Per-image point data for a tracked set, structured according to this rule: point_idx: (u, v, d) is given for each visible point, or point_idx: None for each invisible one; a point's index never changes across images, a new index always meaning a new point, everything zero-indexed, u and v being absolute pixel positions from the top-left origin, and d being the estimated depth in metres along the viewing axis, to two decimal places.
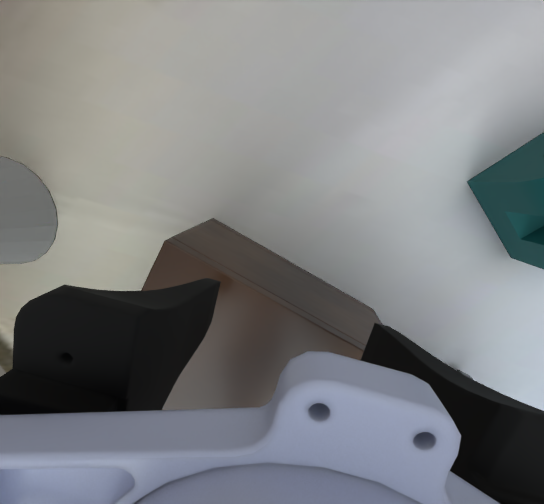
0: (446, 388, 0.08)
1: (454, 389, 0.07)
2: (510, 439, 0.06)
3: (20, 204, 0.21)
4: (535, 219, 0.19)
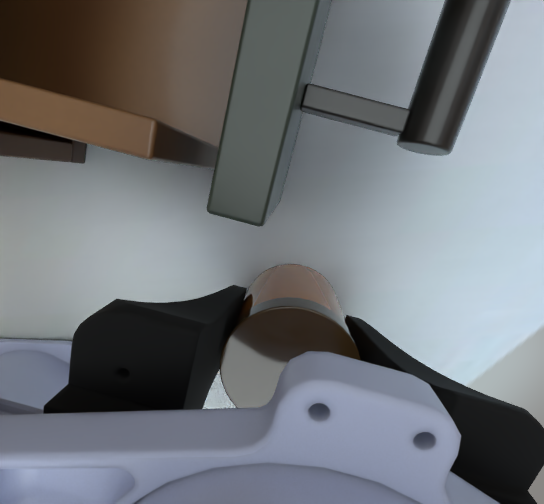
0: None
1: None
2: None
3: None
4: None
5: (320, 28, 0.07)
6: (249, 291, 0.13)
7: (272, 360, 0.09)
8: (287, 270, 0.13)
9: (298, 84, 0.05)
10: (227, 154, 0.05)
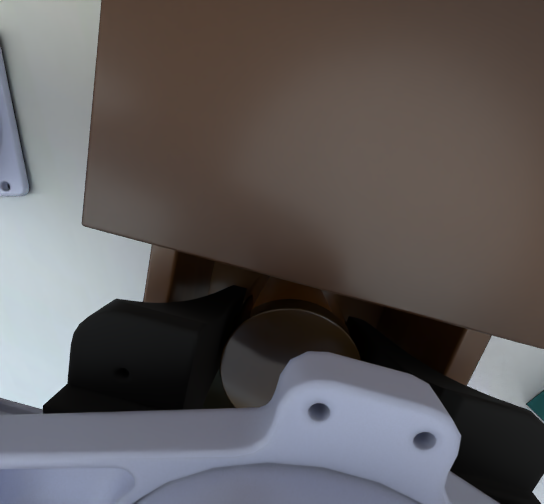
0: None
1: None
2: None
3: None
4: None
5: None
6: (249, 292, 0.13)
7: (272, 362, 0.09)
8: None
9: None
10: None
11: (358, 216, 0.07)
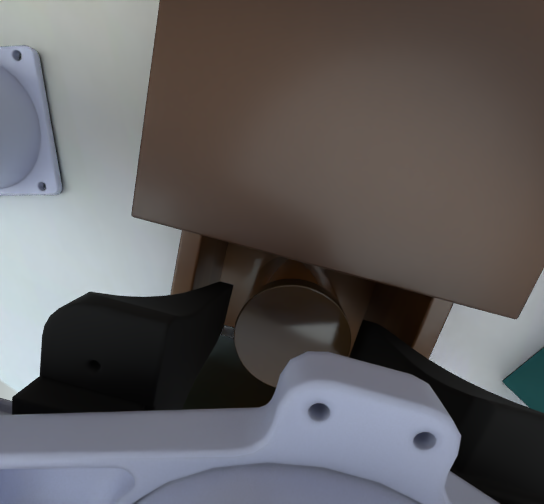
0: (426, 383, 0.08)
1: (433, 383, 0.07)
2: (483, 432, 0.06)
3: None
4: None
5: None
6: (256, 277, 0.15)
7: (277, 330, 0.11)
8: None
9: None
10: None
11: (343, 208, 0.09)
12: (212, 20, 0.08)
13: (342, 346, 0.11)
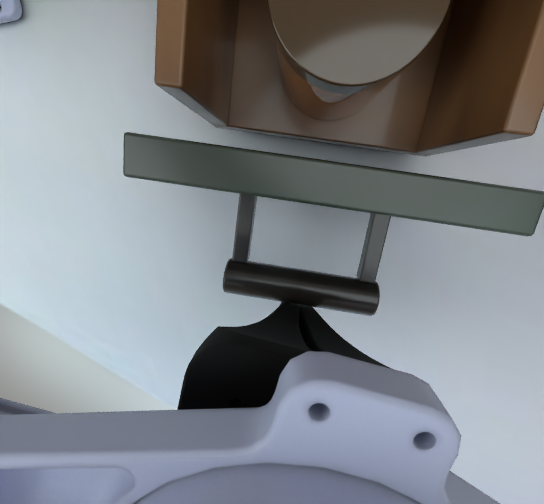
0: None
1: None
2: None
3: None
4: None
5: None
6: None
7: None
8: None
9: (214, 189, 0.08)
10: (164, 145, 0.08)
11: None
12: None
13: None
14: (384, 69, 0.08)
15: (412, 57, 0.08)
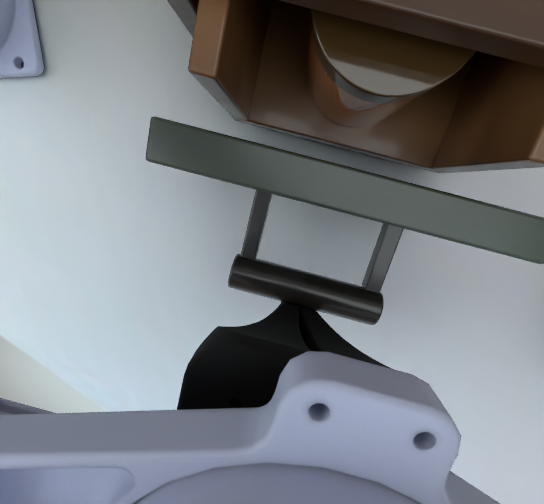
0: None
1: None
2: None
3: None
4: None
5: None
6: None
7: None
8: None
9: (236, 184, 0.08)
10: (191, 134, 0.08)
11: None
12: None
13: None
14: (419, 84, 0.08)
15: (448, 75, 0.08)
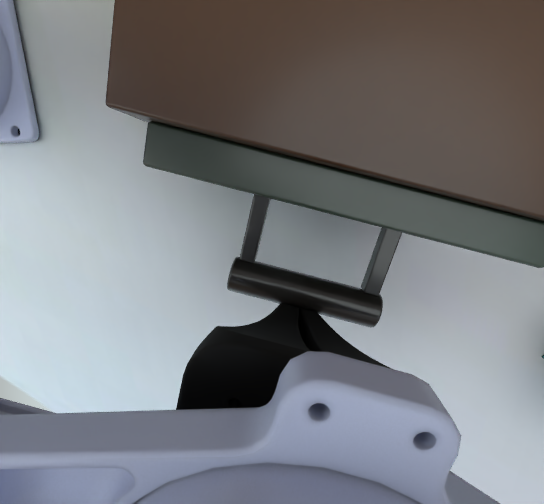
0: None
1: (318, 352, 0.07)
2: None
3: None
4: None
5: None
6: None
7: None
8: None
9: (234, 188, 0.08)
10: (188, 139, 0.08)
11: (395, 82, 0.06)
12: None
13: None
14: None
15: None
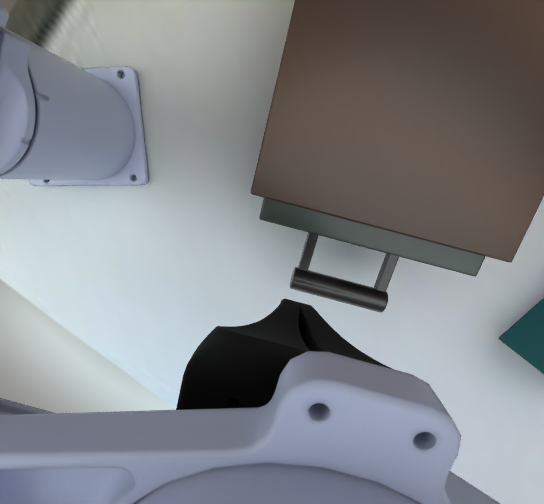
0: None
1: None
2: None
3: None
4: None
5: None
6: None
7: None
8: None
9: (308, 232, 0.15)
10: (286, 206, 0.14)
11: (396, 187, 0.13)
12: (317, 65, 0.12)
13: None
14: None
15: None
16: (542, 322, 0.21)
